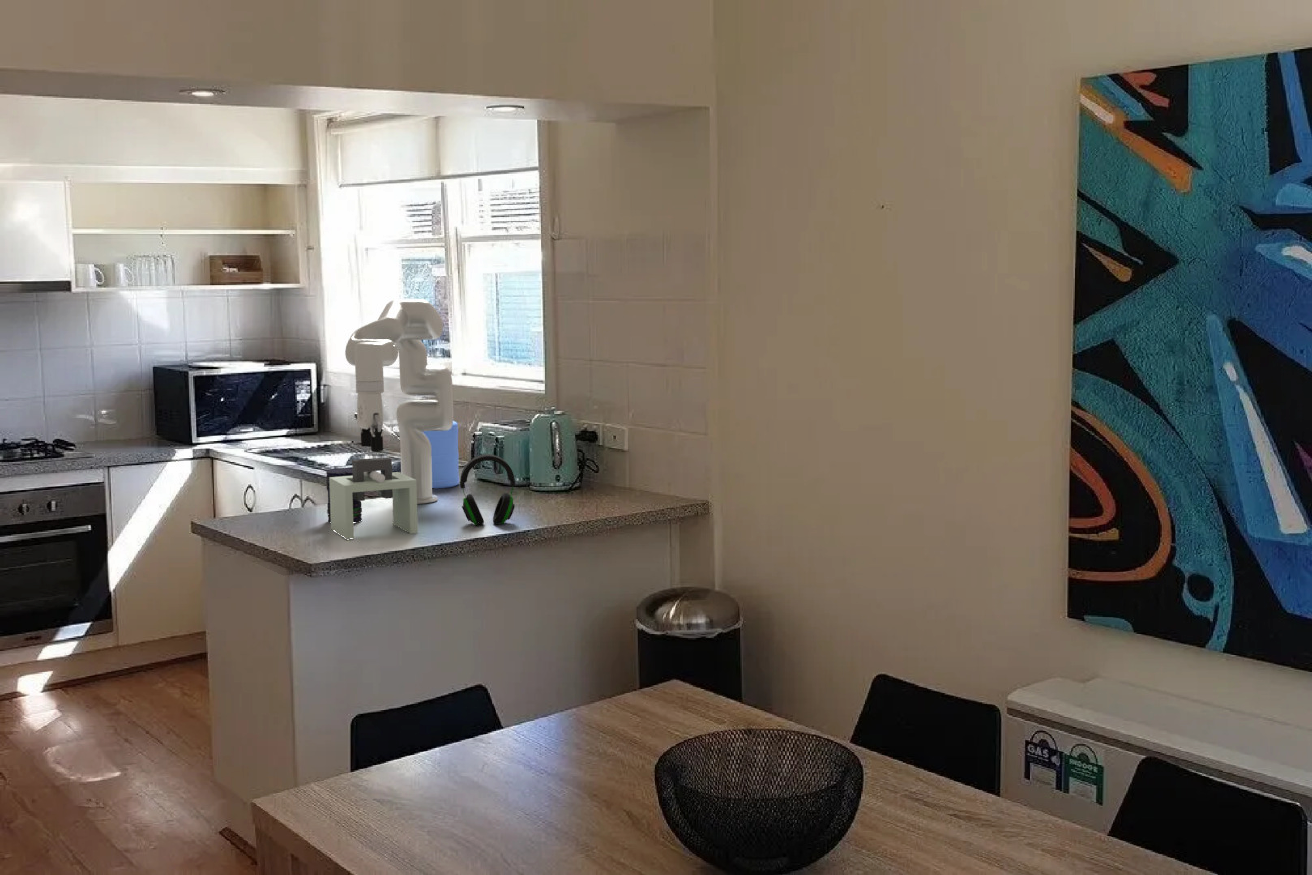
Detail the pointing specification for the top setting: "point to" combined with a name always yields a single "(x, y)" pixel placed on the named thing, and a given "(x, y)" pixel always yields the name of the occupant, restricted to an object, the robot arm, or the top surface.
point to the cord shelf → (373, 481)
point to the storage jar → (356, 504)
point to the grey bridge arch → (372, 465)
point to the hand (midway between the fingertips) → (372, 448)
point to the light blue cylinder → (444, 457)
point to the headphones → (505, 501)
